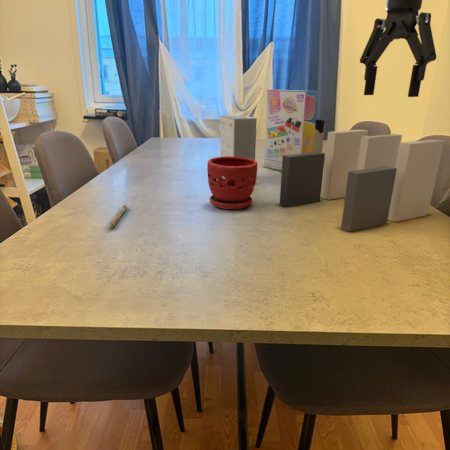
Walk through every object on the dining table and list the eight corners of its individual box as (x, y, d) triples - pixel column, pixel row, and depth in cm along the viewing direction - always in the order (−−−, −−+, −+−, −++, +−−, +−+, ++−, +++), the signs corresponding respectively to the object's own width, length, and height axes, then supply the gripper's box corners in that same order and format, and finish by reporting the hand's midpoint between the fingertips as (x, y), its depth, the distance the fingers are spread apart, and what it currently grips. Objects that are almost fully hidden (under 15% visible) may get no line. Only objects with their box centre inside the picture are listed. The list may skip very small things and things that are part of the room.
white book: (389, 204, 120) (402, 135, 111) (358, 209, 114) (368, 138, 106) (382, 201, 122) (394, 134, 113) (351, 207, 116) (361, 136, 108)
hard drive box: (255, 184, 141) (257, 118, 132) (232, 185, 139) (233, 119, 130) (240, 174, 154) (241, 114, 145) (219, 176, 152) (219, 114, 143)
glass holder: (298, 158, 185) (301, 120, 178) (312, 154, 196) (315, 118, 189) (317, 160, 181) (321, 121, 174) (330, 155, 191) (334, 119, 184)
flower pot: (200, 209, 115) (199, 162, 109) (218, 197, 125) (218, 154, 120) (246, 214, 110) (247, 166, 105) (261, 202, 121) (263, 157, 116)
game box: (311, 174, 155) (319, 90, 143) (300, 176, 152) (307, 90, 140) (274, 165, 170) (278, 89, 158) (263, 166, 168) (266, 89, 155)
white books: (427, 215, 110) (444, 140, 102) (395, 222, 105) (410, 144, 97) (351, 192, 131) (360, 129, 123) (321, 197, 126) (328, 131, 117)
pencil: (112, 230, 98) (127, 208, 114) (111, 226, 98) (127, 204, 114) (106, 230, 98) (122, 208, 114) (106, 226, 98) (122, 204, 114)
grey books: (386, 223, 104) (397, 168, 98) (350, 231, 98) (358, 173, 92) (313, 199, 124) (317, 151, 118) (279, 204, 119) (282, 155, 113)
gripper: (352, -4, 103) (342, 94, 113) (445, -22, 84) (423, 98, 94) (374, -1, 107) (362, 94, 117) (469, -19, 88) (445, 97, 97)
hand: (389, 96), depth 105 cm, fingers open, 13 cm apart
